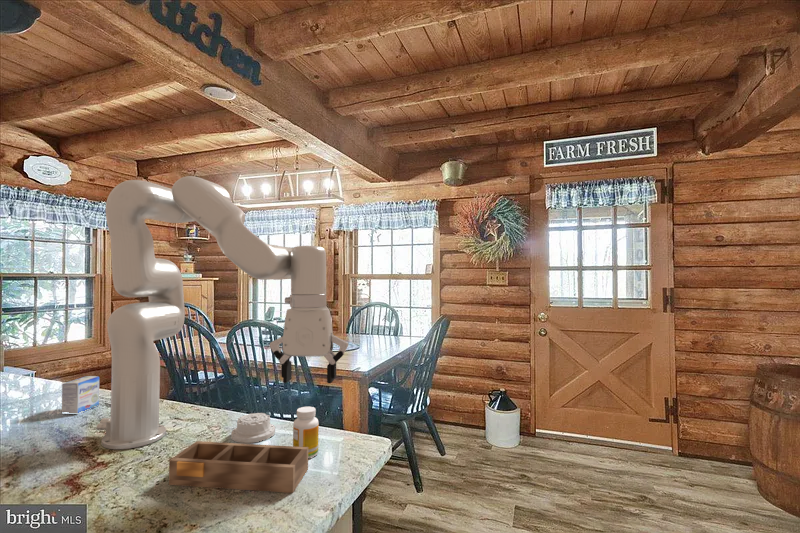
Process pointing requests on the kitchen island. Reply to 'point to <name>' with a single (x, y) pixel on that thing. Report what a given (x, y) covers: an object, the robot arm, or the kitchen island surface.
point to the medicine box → (80, 394)
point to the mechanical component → (253, 428)
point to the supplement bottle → (306, 430)
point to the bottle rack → (239, 466)
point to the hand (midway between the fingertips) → (309, 381)
